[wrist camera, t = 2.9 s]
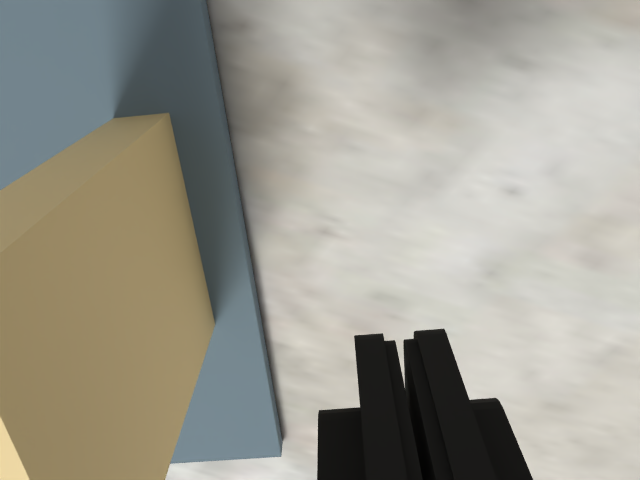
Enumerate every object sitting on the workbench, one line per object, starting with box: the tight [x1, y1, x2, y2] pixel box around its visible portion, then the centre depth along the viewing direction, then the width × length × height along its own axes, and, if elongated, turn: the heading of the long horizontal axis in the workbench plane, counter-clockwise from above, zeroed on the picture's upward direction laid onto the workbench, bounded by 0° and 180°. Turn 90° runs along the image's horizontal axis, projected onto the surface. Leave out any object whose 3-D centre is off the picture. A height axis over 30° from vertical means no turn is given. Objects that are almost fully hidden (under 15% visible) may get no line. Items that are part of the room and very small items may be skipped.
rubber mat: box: [0, 0, 282, 464], centre depth 19 cm, size 17×22×1 cm
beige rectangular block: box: [0, 113, 215, 480], centre depth 14 cm, size 2×8×11 cm, turn 5°
